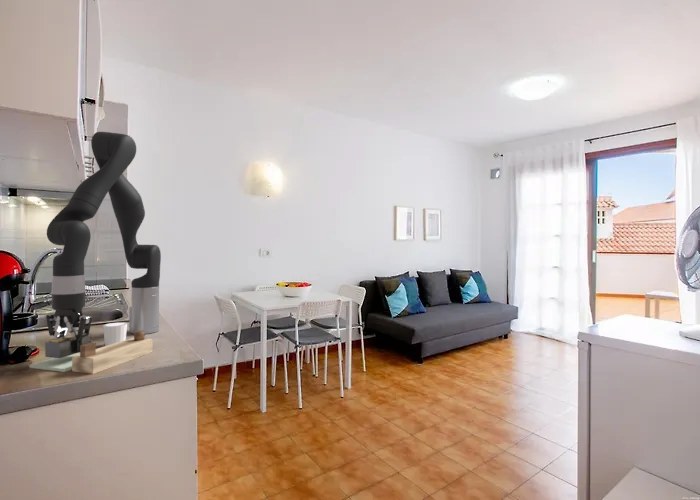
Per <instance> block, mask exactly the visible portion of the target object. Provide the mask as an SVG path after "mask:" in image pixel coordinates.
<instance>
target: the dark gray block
mask: <svg viewBox="0 0 700 500" xmlns="http://www.w3.org/2000/svg"><path fill="white" fill-rule="evenodd" d="M91 338H92V335H90V334H89V335H88V336H86V337H83V338H82V345H85V344H88V343H92V339H91ZM72 340H73V339H72V336H71V334H70V335H66V336H64V337H60V338H53V339H52V338H51V339H50V340H47V341H45V346H44V351H45V356H44V357H45V358H62V357H66V356H69V355H73V354H76V353H72ZM78 353H80V352H78Z"/></svg>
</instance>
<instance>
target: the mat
mask: <svg viewBox="0 0 700 500" xmlns="http://www.w3.org/2000/svg"><path fill="white" fill-rule="evenodd" d="M78 354H80V352H79V353H76V354H73V355H69V356H66V357H62V358H52V357H50V358H49V359H46V360H42V361H39V362H38V361H37V362H35V363H32V364H29V369H37V370H45V371H53V372H63V373H65V372H68V371H71V370H72V356H75V355H78Z"/></svg>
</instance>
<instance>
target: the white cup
mask: <svg viewBox="0 0 700 500" xmlns="http://www.w3.org/2000/svg"><path fill="white" fill-rule="evenodd" d="M102 328H103V329H102V330H103V338H104V339H103V340H104V347H105V346H108V345H111V344H114V343H118V342H121V341H124V340H127V330H128V322H123V321H122V322H110V323H106V324H103V325H102Z"/></svg>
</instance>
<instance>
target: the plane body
mask: <svg viewBox="0 0 700 500" xmlns="http://www.w3.org/2000/svg"><path fill="white" fill-rule="evenodd" d="M145 335H146V334H145V331H135V332H134V334H133V337H132V338H128V339H126V340H124V341H121V342H118V343H114V344H111V345H108V346H105V345H104V346H102V347H99V348H96V345H97V344H96V342H91V343H88V344H85V345H81V346H80V352H79V353H80V354H78V355H75V356H72V369H71V370H72V371H71V372H76V373H83V374H90V375H91V374H92V375H94V374H96V373H97V374H98V373H99V372H102V371H105V370H107V369H110V368H114V367H117V366H119V365H121V364H124V363H127V362H130V361H132V360H135V359H137V358H140V357H143V356H146V355H149V354H150V353H153V349H154V347H153V346H154V345H153V343H154V342H153V339H152V338H145Z"/></svg>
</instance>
